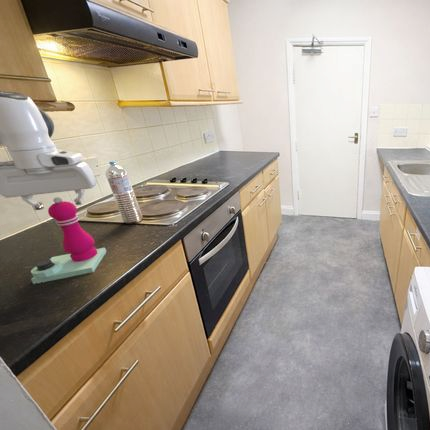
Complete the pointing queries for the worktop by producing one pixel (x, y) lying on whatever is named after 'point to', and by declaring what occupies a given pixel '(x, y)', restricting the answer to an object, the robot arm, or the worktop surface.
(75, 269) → the scale
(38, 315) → the worktop surface
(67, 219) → the pepper mill
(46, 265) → the tare button
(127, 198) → the water bottle
